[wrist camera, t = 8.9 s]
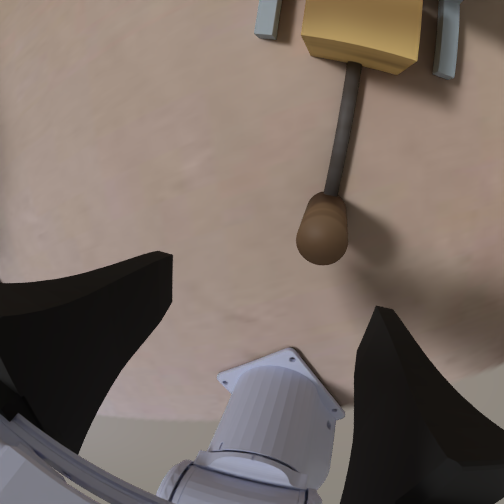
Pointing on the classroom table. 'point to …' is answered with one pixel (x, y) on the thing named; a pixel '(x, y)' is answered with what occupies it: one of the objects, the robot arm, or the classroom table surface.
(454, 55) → the shelf
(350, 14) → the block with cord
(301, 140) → the classroom table surface
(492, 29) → the classroom table surface
